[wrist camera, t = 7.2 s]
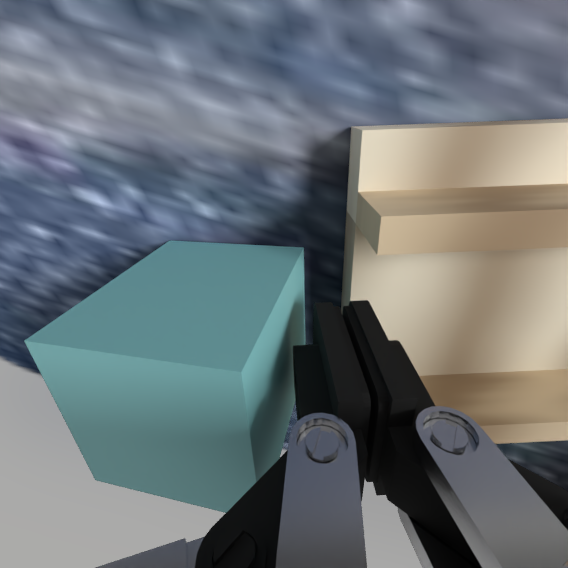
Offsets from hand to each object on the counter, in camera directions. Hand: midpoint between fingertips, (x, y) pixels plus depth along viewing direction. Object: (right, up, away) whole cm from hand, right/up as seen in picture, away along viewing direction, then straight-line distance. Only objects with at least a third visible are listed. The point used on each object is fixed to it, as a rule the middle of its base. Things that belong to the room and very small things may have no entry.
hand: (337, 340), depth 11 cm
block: (-2, -1, -1) cm, 2 cm away
